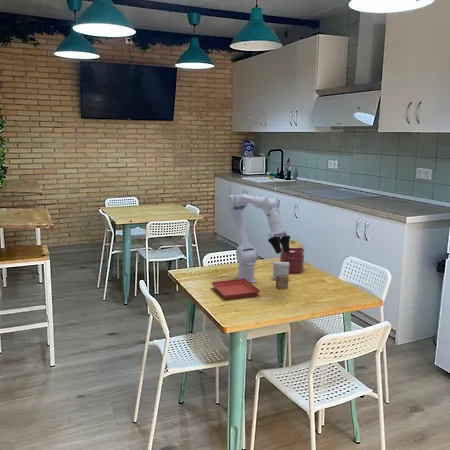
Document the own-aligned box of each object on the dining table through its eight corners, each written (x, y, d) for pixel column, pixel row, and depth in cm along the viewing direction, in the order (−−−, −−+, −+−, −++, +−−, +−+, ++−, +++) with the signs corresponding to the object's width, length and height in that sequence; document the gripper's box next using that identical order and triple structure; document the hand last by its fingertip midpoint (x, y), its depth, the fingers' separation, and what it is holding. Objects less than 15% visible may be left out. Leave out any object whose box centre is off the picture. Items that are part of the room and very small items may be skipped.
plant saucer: (260, 297, 206) (261, 290, 206) (224, 302, 200) (224, 294, 199) (244, 284, 223) (244, 278, 222) (210, 288, 216) (210, 282, 216)
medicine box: (288, 278, 233) (289, 262, 231) (288, 280, 229) (289, 264, 227) (273, 277, 234) (273, 261, 232) (273, 280, 229) (273, 263, 228)
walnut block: (275, 286, 220) (276, 274, 219) (284, 285, 222) (285, 274, 220) (278, 289, 216) (279, 277, 215) (287, 288, 217) (288, 276, 216)
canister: (277, 272, 242) (278, 240, 238) (281, 265, 254) (283, 235, 250) (301, 275, 238) (303, 242, 235) (304, 268, 250) (306, 237, 247)
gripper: (274, 221, 197) (282, 251, 195) (290, 221, 209) (298, 249, 207) (261, 225, 201) (269, 255, 199) (277, 225, 213) (285, 253, 211)
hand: (283, 252), depth 203 cm, fingers open, 7 cm apart
